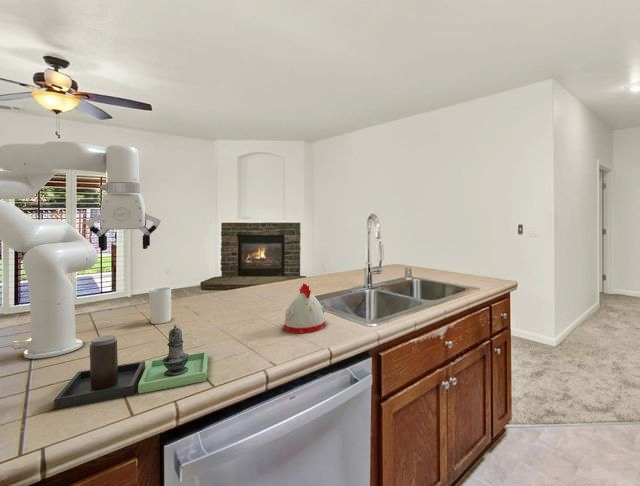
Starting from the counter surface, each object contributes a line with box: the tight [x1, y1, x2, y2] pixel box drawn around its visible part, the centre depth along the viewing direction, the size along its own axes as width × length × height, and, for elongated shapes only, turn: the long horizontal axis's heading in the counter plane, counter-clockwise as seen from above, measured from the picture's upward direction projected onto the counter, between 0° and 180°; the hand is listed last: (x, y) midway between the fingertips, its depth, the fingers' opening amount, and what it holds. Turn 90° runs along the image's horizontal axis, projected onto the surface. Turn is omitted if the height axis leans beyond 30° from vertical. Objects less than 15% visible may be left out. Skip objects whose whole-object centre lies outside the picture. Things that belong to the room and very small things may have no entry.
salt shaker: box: [162, 324, 190, 377], centre depth 92 cm, size 6×6×12 cm
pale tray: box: [137, 350, 209, 394], centre depth 92 cm, size 14×15×2 cm
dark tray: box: [53, 360, 146, 410], centre depth 86 cm, size 14×15×2 cm
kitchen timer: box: [284, 283, 326, 334], centre depth 129 cm, size 14×14×15 cm
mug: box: [148, 286, 172, 325], centre depth 136 cm, size 10×7×12 cm, turn 38°
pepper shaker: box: [89, 334, 119, 390], centre depth 86 cm, size 5×5×11 cm
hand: (125, 249), depth 105 cm, fingers open, 9 cm apart
